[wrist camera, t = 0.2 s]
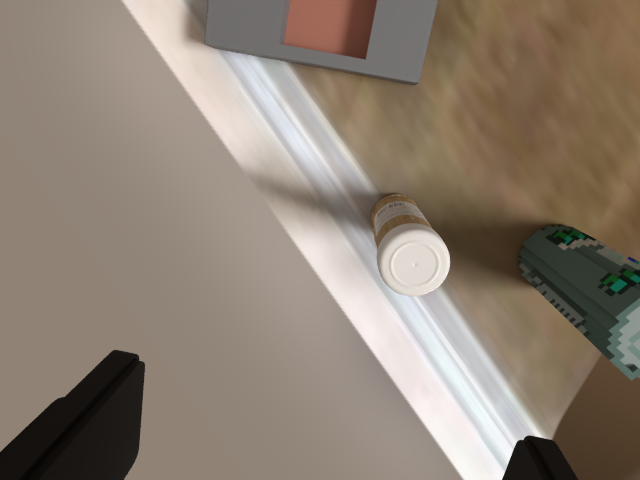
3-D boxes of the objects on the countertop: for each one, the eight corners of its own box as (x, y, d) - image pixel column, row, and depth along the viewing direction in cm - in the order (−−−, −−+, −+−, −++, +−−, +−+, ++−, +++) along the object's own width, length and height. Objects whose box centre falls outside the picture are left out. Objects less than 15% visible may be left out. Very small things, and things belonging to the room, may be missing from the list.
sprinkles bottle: (374, 243, 41) (383, 302, 28) (367, 196, 40) (373, 236, 27) (423, 236, 40) (455, 293, 28) (417, 188, 39) (447, 224, 26)
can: (602, 255, 40) (742, 336, 25) (549, 300, 41) (653, 400, 27) (557, 212, 39) (675, 269, 24) (505, 259, 40) (587, 339, 26)
